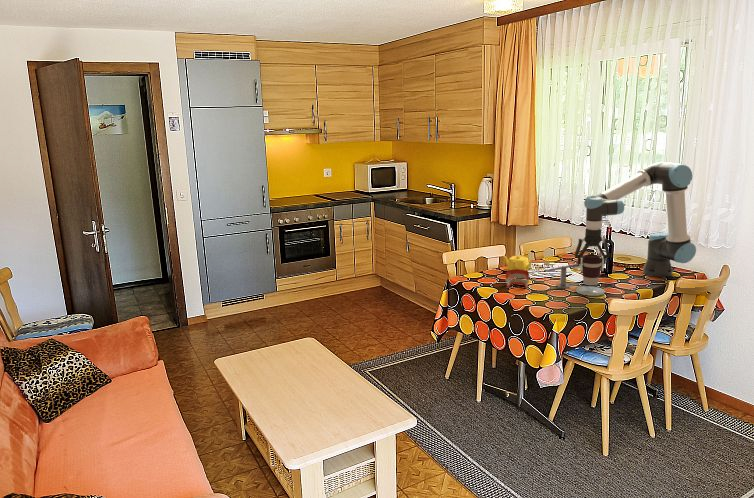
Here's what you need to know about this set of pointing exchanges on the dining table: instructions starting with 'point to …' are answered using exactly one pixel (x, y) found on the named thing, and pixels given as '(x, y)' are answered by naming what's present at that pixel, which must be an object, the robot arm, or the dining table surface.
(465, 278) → the dining table surface
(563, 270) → the balance
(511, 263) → the teapot
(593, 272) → the coffee cup
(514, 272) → the toy
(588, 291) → the pale grey round disc
